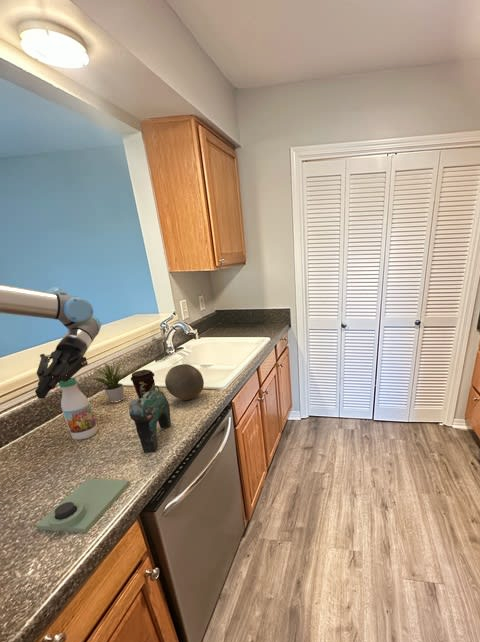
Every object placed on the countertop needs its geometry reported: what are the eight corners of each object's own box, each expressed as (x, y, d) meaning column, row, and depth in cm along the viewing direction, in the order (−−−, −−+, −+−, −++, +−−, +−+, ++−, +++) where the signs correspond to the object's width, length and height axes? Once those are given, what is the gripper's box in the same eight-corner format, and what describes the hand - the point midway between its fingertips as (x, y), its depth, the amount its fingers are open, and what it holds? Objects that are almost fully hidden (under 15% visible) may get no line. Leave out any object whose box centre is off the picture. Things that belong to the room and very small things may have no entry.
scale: (83, 535, 70) (79, 525, 68) (34, 532, 71) (29, 522, 70) (130, 483, 85) (127, 474, 84) (88, 482, 86) (85, 472, 85)
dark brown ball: (178, 393, 140) (171, 360, 134) (210, 392, 139) (204, 359, 133) (164, 408, 127) (156, 372, 121) (199, 407, 126) (193, 371, 120)
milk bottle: (66, 438, 108) (46, 383, 100) (86, 427, 115) (68, 375, 107) (84, 441, 106) (64, 385, 98) (103, 429, 113) (86, 376, 105)
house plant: (119, 390, 145) (109, 356, 139) (144, 393, 141) (134, 357, 135) (91, 404, 133) (79, 367, 127) (117, 407, 129) (106, 369, 122)
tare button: (67, 520, 70) (65, 514, 70) (53, 519, 71) (50, 513, 70) (80, 508, 74) (77, 502, 73) (65, 507, 74) (63, 501, 74)
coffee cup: (156, 395, 138) (149, 367, 133) (163, 401, 132) (156, 371, 127) (135, 402, 133) (127, 372, 128) (140, 408, 127) (132, 377, 122)
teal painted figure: (156, 455, 97) (141, 394, 89) (134, 456, 96) (117, 395, 89) (176, 422, 115) (165, 369, 107) (158, 423, 115) (145, 371, 107)
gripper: (98, 356, 110) (69, 405, 93) (55, 353, 107) (17, 403, 90) (93, 338, 105) (62, 386, 88) (48, 334, 103) (6, 383, 85)
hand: (39, 394), depth 89 cm, fingers closed
